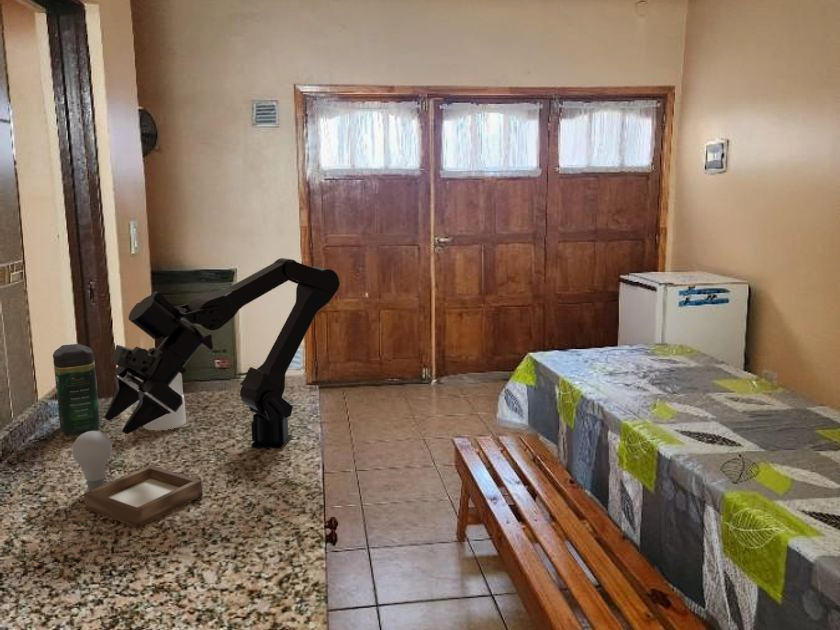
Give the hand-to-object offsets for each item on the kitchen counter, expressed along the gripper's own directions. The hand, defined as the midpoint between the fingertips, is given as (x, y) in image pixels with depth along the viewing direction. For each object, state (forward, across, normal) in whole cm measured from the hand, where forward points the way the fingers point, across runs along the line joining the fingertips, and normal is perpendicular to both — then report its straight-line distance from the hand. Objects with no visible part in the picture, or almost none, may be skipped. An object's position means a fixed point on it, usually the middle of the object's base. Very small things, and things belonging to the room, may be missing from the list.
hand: (115, 425), depth 118 cm
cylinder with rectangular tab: (-5, -26, +21) cm, 34 cm away
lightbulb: (+11, 0, +5) cm, 12 cm away
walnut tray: (+7, +10, +8) cm, 15 cm away
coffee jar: (+6, -36, +10) cm, 38 cm away
